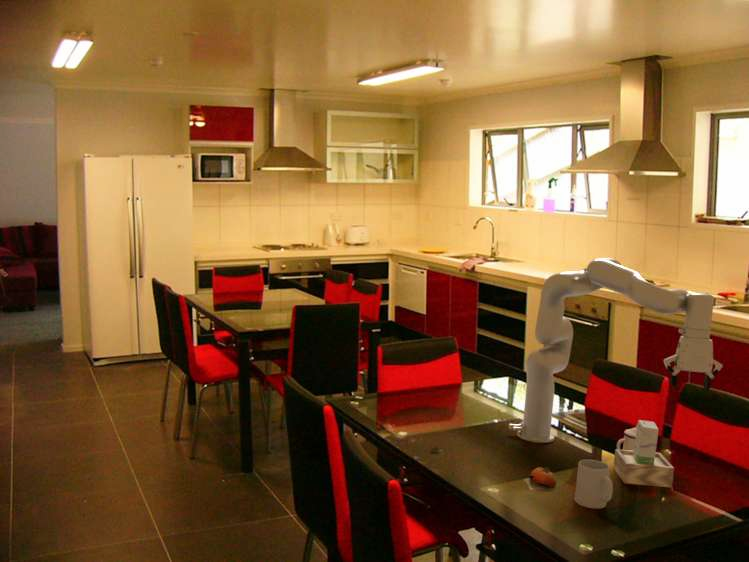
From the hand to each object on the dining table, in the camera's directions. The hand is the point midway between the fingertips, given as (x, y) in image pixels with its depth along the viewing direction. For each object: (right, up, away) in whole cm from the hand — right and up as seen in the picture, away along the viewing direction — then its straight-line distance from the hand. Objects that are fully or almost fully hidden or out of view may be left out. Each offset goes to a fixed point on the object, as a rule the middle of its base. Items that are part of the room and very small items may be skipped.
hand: (689, 388), depth 246 cm
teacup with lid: (-12, -26, +18) cm, 34 cm away
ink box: (-14, -23, +2) cm, 26 cm away
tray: (-14, -27, +2) cm, 31 cm away
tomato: (-47, -27, -10) cm, 55 cm away
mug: (-36, -29, -24) cm, 52 cm away
